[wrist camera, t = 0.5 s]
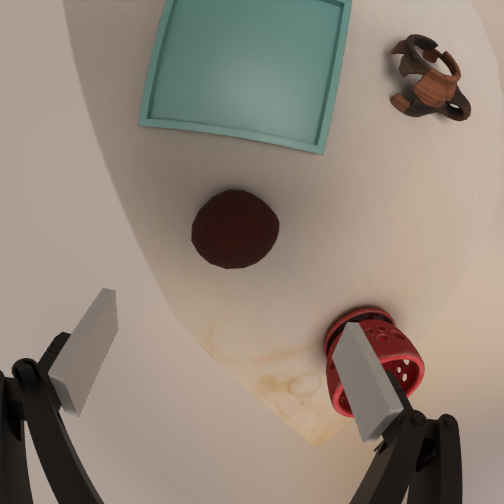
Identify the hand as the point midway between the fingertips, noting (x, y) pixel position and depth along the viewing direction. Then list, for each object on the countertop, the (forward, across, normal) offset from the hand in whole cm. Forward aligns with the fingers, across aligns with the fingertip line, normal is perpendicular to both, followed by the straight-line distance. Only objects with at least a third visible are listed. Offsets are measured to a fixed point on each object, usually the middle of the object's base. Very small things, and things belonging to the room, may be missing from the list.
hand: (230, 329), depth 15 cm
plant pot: (+20, +21, -15) cm, 33 cm away
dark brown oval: (+20, 0, 0) cm, 20 cm away
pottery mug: (+20, +19, +22) cm, 35 cm away
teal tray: (+19, -2, +19) cm, 27 cm away
